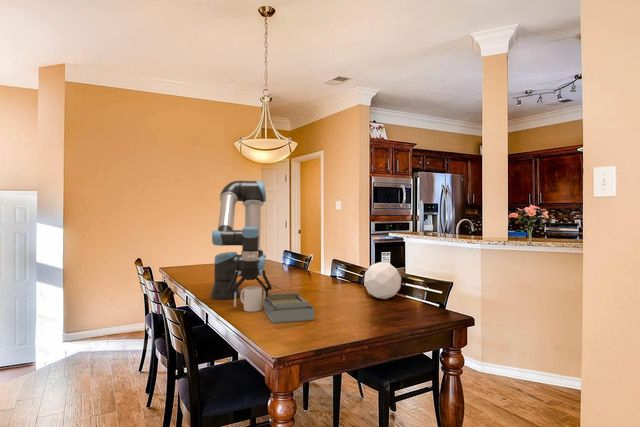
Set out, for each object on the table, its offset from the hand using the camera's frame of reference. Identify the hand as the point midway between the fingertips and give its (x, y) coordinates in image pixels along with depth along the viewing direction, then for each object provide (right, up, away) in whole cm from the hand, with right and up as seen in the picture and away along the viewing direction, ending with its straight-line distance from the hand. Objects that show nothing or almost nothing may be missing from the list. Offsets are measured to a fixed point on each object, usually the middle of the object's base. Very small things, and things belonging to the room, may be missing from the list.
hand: (249, 305), depth 184 cm
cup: (0, -2, 0) cm, 2 cm away
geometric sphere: (+66, -2, +26) cm, 71 cm away
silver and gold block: (+18, -2, -9) cm, 20 cm away
